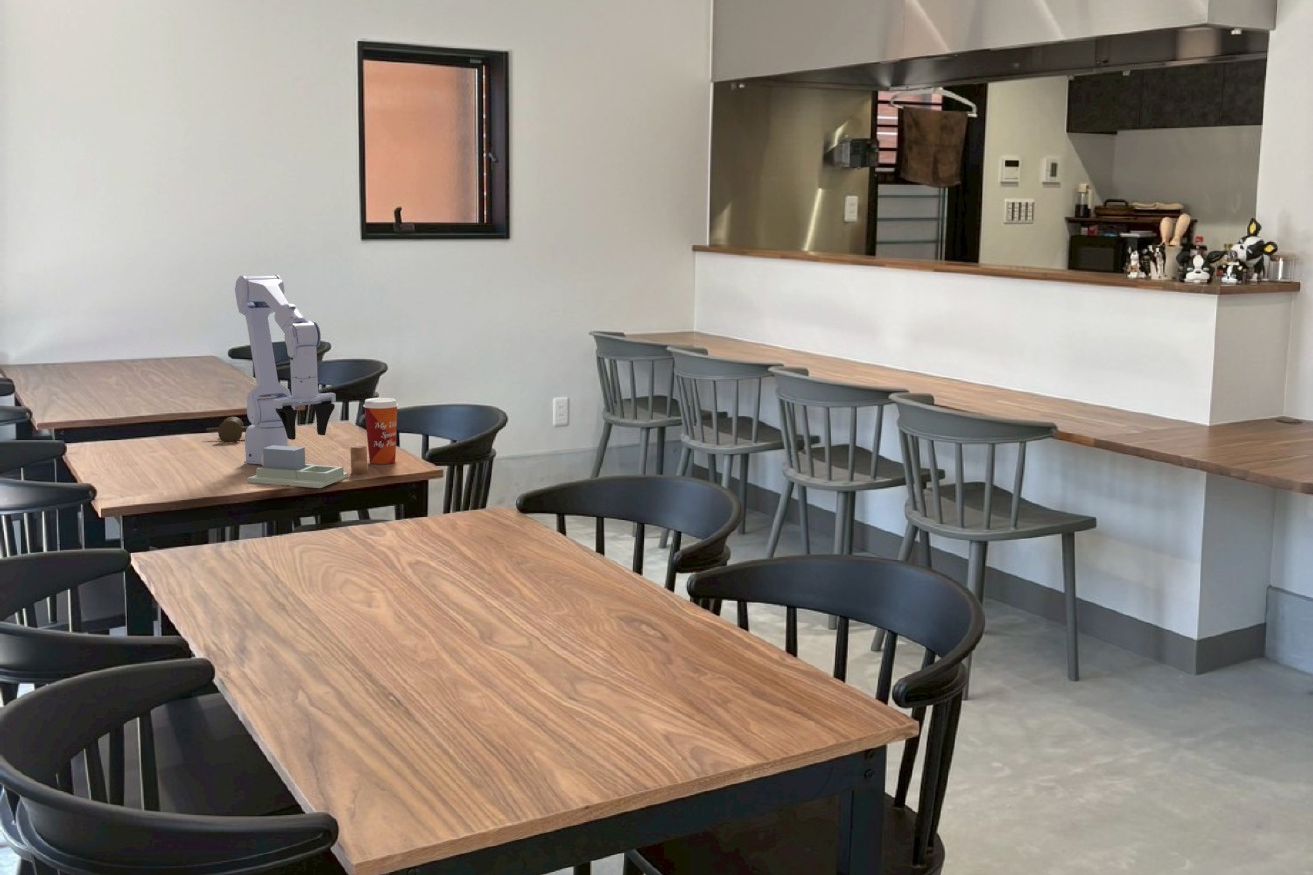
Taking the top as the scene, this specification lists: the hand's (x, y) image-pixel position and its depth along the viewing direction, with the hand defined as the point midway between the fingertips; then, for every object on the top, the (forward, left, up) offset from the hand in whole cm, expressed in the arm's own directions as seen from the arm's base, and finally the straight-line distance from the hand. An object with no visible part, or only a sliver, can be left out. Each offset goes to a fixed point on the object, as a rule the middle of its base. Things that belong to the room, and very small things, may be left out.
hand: (306, 437), depth 287 cm
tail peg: (+9, +8, -9) cm, 15 cm away
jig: (0, -3, -9) cm, 10 cm away
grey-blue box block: (-4, -3, -8) cm, 10 cm away
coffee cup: (+8, +21, -9) cm, 24 cm away
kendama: (-40, +36, -10) cm, 55 cm away
